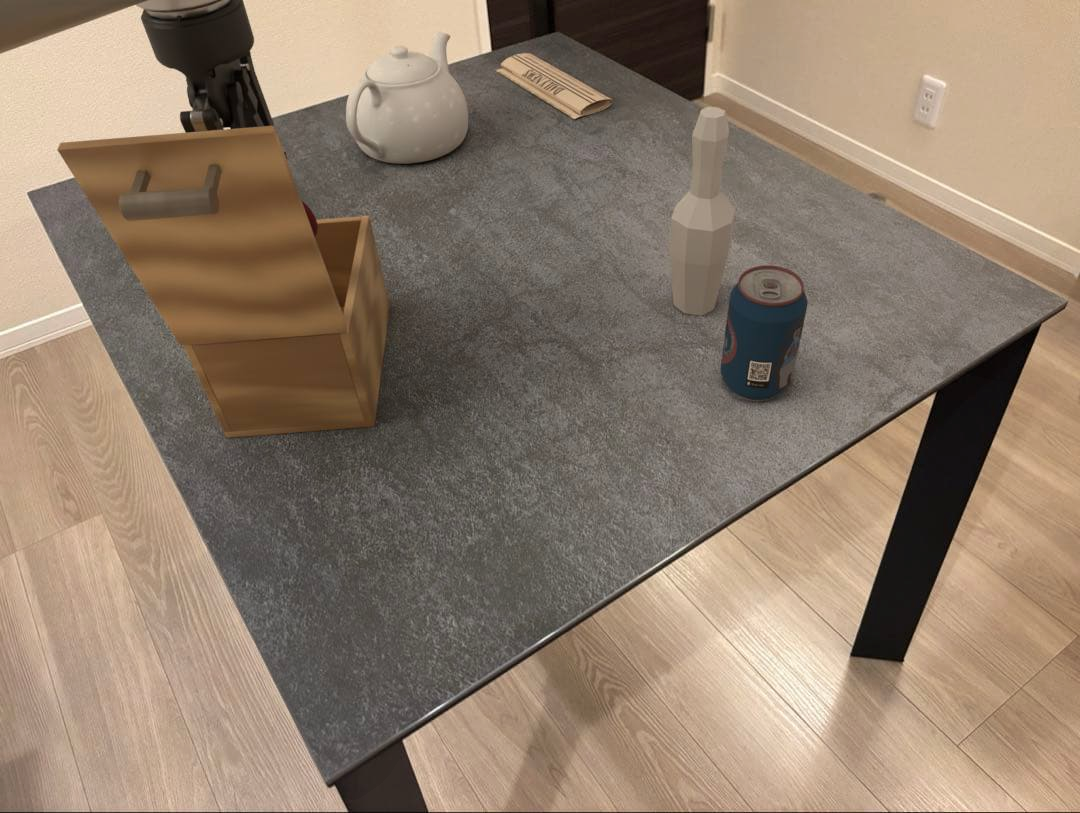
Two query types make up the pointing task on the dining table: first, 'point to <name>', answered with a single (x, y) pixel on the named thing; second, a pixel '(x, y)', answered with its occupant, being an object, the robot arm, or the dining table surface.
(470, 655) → the dining table surface
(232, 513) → the dining table surface
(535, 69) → the newspaper
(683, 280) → the faceted bottle
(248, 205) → the lid
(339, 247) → the chest
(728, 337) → the soda can
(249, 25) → the robot arm
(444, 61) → the teapot
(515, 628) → the dining table surface
